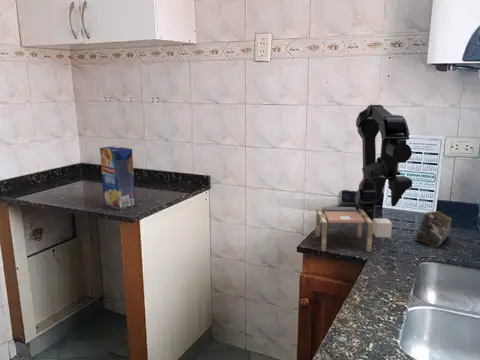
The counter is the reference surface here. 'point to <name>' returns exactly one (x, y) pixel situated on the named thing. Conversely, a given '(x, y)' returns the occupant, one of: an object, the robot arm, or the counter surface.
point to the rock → (434, 228)
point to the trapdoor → (342, 215)
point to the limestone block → (382, 228)
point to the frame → (359, 230)
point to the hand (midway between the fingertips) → (385, 201)
